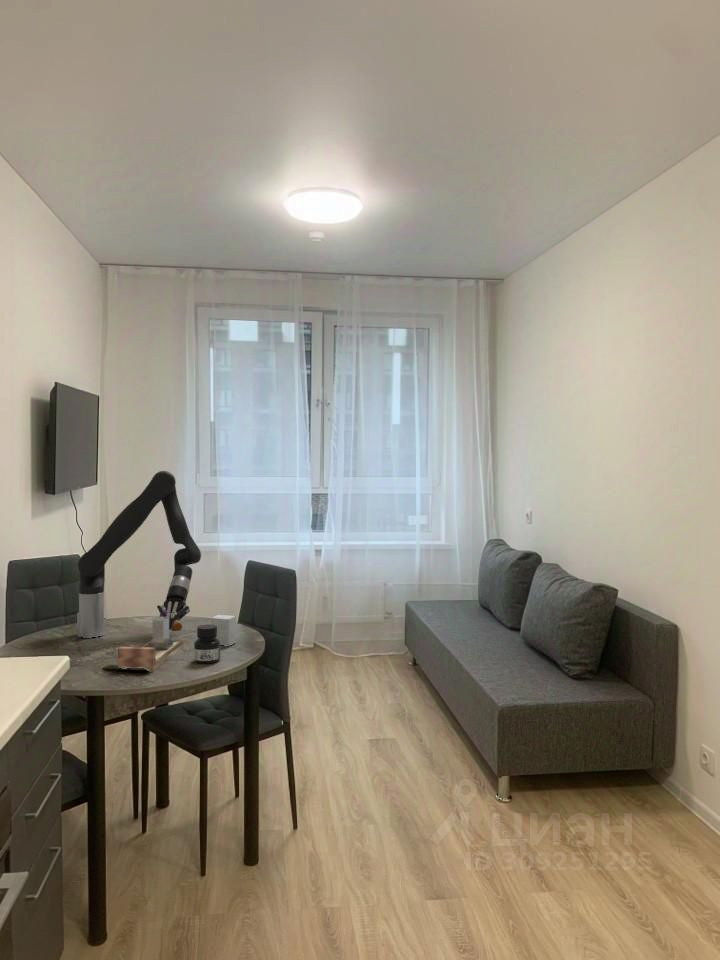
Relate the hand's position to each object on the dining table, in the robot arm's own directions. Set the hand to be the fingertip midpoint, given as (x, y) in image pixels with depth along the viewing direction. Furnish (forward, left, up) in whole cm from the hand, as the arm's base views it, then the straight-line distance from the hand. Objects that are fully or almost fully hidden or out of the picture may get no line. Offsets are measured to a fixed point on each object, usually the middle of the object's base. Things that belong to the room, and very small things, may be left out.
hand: (168, 628), depth 269 cm
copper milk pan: (0, -16, -6) cm, 17 cm away
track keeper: (0, -8, -5) cm, 9 cm away
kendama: (-10, +32, -7) cm, 34 cm away
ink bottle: (+20, -18, -7) cm, 28 cm away
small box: (+20, +4, -7) cm, 22 cm away
